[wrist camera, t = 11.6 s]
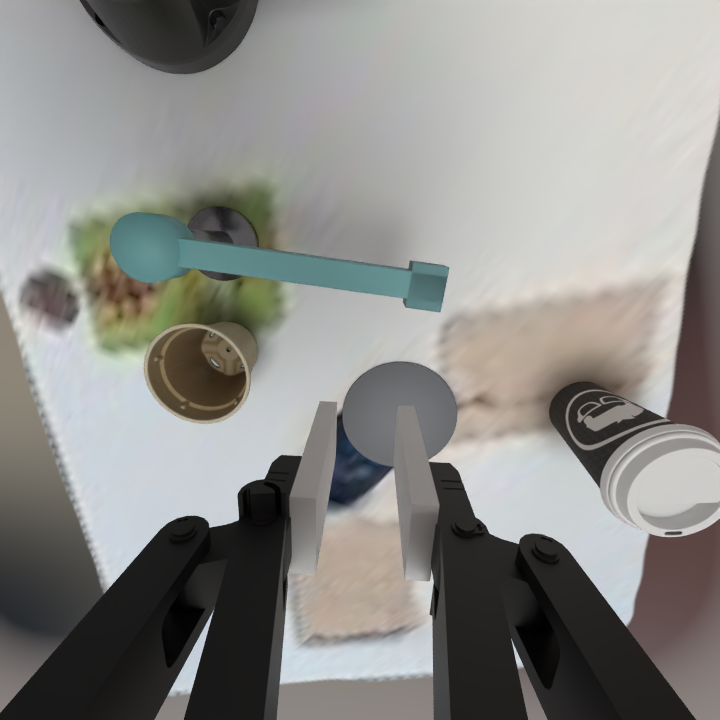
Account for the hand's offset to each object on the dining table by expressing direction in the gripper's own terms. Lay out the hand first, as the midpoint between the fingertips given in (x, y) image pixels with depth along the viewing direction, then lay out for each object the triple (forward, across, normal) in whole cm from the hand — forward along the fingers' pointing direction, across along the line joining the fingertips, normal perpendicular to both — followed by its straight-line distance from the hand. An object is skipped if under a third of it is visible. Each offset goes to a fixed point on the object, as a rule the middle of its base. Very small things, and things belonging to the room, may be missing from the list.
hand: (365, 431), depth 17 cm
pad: (+25, +4, -11) cm, 27 cm away
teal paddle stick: (+13, -6, +6) cm, 16 cm away
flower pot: (+25, -15, -4) cm, 29 cm away
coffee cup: (+25, +24, -9) cm, 36 cm away
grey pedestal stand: (+25, -15, +7) cm, 30 cm away
